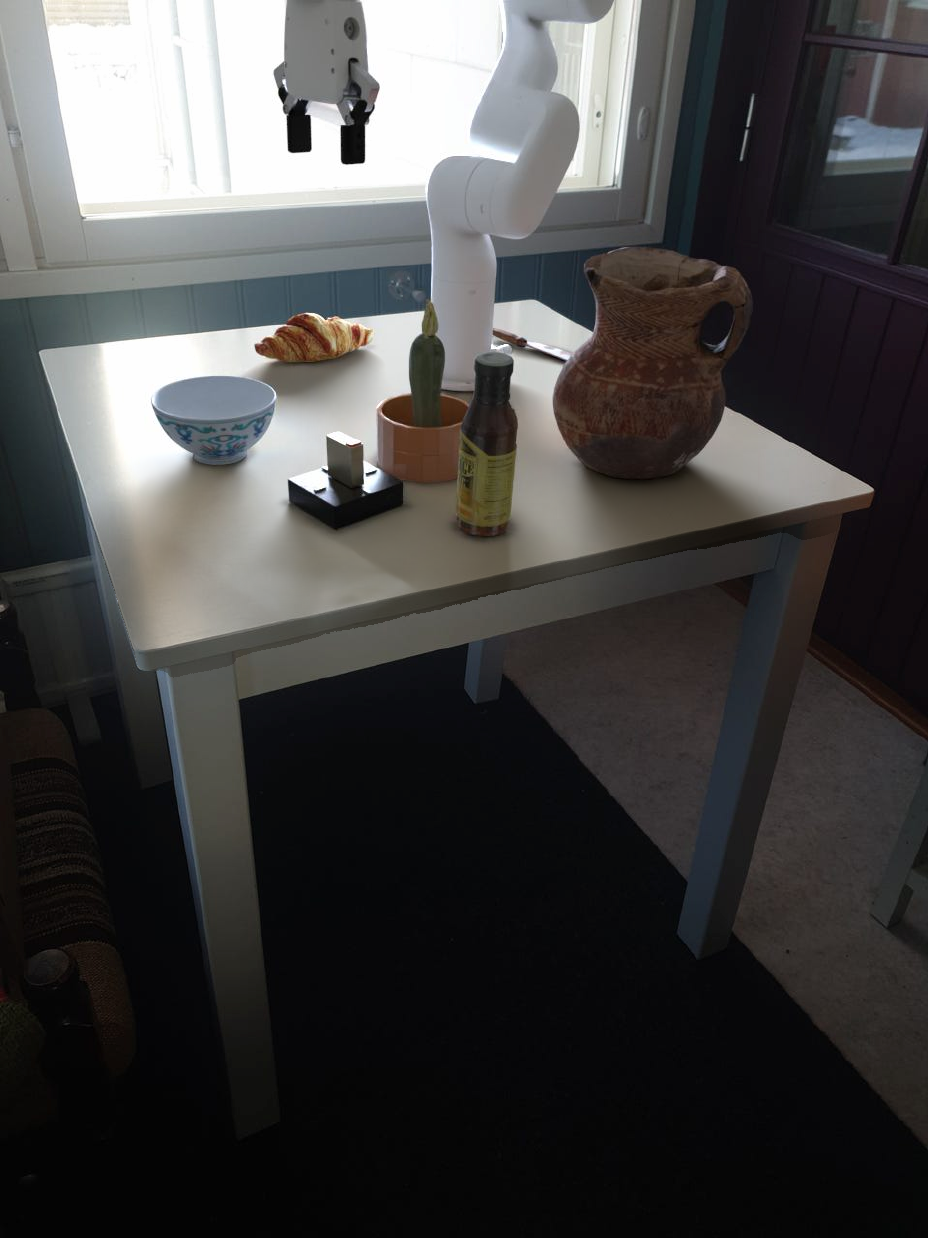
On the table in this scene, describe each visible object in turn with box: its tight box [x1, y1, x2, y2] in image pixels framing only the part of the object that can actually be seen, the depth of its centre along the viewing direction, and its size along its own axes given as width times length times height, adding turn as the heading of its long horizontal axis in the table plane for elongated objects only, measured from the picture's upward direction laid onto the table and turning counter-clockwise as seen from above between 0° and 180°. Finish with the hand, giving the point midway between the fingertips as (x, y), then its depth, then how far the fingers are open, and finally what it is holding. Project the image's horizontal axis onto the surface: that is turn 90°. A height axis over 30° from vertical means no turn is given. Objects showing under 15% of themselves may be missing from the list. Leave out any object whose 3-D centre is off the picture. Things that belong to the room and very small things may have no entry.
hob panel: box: [287, 461, 405, 531], centre depth 112 cm, size 10×9×3 cm
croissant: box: [254, 312, 375, 364], centre depth 155 cm, size 21×10×8 cm, turn 126°
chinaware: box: [150, 375, 277, 466], centre depth 121 cm, size 15×15×8 cm
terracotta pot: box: [376, 392, 470, 484], centre depth 122 cm, size 12×12×7 cm
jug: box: [552, 246, 754, 480], centre depth 120 cm, size 22×21×25 cm
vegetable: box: [408, 298, 445, 428], centre depth 118 cm, size 4×4×20 cm
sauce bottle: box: [455, 352, 519, 537], centre depth 104 cm, size 7×6×20 cm
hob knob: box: [325, 431, 365, 488], centre depth 110 cm, size 5×2×5 cm, turn 44°
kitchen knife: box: [492, 327, 573, 362], centre depth 163 cm, size 21×2×5 cm
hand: (325, 157), depth 113 cm, fingers open, 9 cm apart
